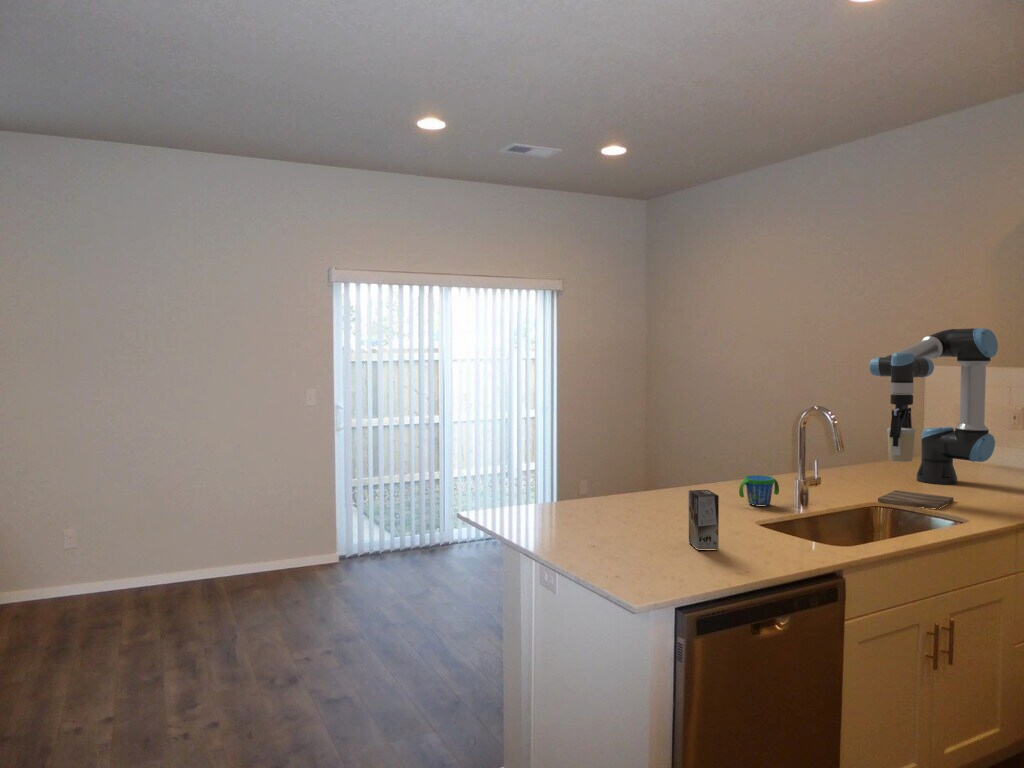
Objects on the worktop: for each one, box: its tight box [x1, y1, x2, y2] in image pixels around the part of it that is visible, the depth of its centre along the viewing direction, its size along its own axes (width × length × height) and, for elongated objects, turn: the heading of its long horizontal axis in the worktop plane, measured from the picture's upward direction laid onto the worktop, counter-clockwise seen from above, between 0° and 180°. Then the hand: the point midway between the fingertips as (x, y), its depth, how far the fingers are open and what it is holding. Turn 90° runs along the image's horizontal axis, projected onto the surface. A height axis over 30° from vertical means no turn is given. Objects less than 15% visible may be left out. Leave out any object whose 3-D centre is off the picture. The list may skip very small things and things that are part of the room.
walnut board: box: [877, 489, 955, 510], centre depth 271 cm, size 20×20×2 cm
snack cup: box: [738, 474, 780, 506], centre depth 268 cm, size 16×10×10 cm
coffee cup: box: [886, 426, 916, 463], centre depth 275 cm, size 9×9×12 cm
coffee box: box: [688, 489, 720, 550], centre depth 213 cm, size 9×6×16 cm
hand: (900, 453), depth 275 cm, fingers closed on coffee cup, 9 cm apart
